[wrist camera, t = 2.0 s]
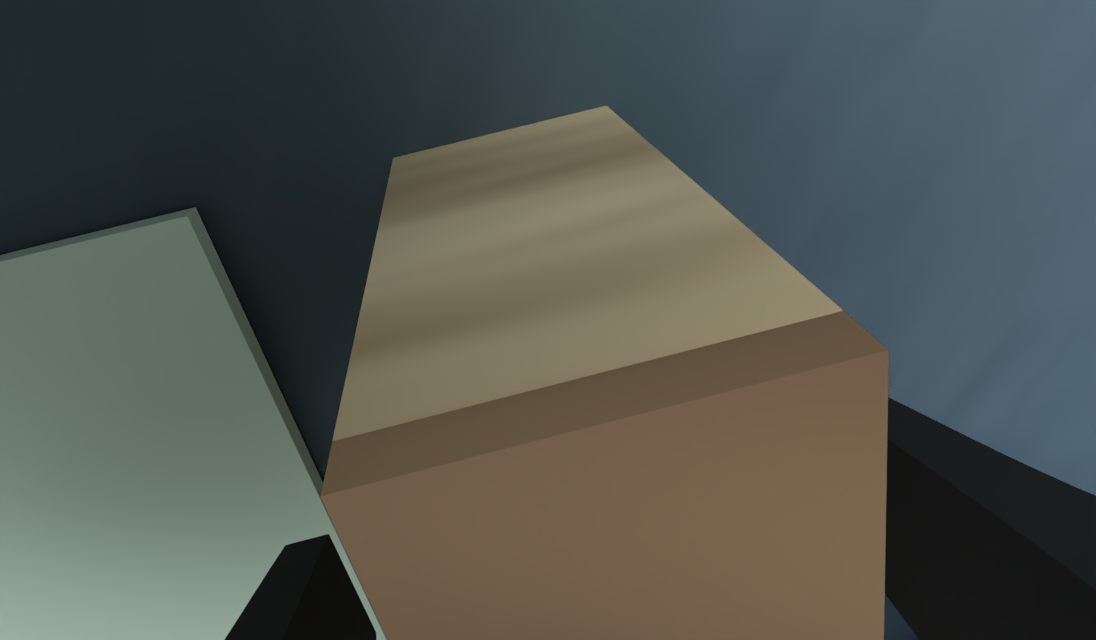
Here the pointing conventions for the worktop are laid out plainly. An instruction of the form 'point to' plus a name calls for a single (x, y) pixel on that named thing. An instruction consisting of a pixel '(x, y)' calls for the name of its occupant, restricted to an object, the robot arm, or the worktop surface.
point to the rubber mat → (141, 442)
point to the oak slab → (602, 409)
